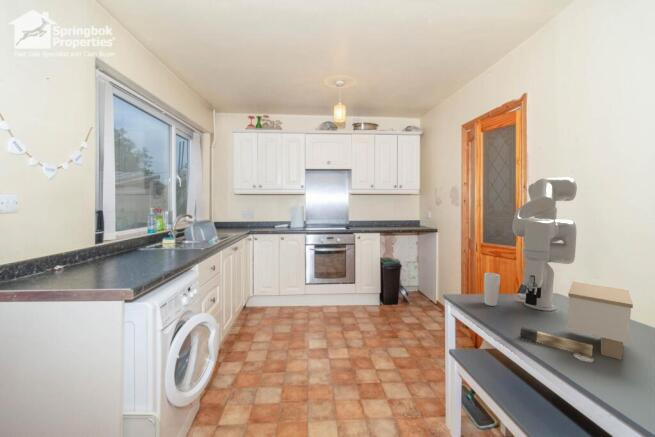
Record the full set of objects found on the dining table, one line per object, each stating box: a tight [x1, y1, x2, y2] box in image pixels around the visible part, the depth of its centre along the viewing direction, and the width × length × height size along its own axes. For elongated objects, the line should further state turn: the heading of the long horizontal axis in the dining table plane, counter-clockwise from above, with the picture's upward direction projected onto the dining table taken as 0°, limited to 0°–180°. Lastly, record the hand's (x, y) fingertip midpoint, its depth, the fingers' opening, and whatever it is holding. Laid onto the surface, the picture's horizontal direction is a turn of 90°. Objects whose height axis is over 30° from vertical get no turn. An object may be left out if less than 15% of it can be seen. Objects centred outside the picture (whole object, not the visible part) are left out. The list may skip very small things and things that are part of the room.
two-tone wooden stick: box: [519, 326, 594, 357], centre depth 105 cm, size 20×2×4 cm, turn 48°
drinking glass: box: [483, 272, 501, 307], centre depth 146 cm, size 7×7×15 cm
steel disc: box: [572, 352, 595, 363], centre depth 97 cm, size 5×5×1 cm
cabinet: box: [566, 281, 634, 360], centre depth 106 cm, size 16×21×19 cm
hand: (533, 300), depth 109 cm, fingers open, 9 cm apart
